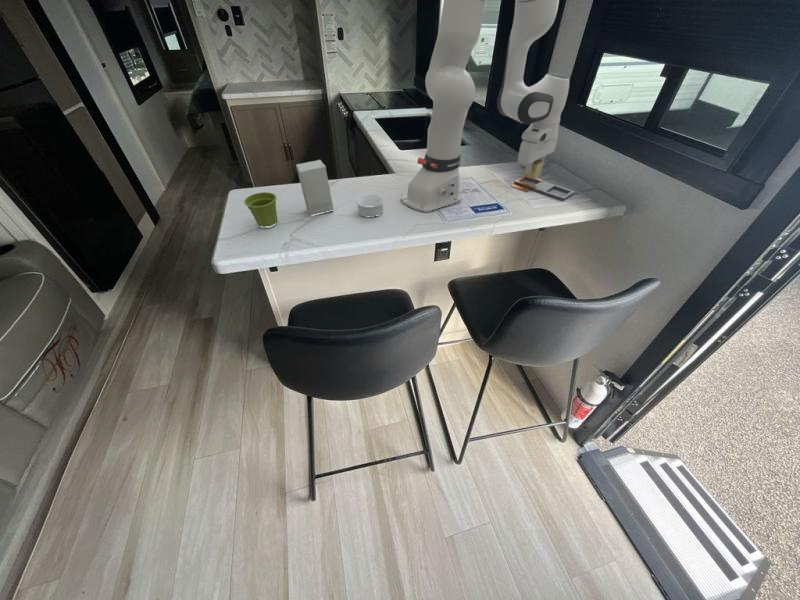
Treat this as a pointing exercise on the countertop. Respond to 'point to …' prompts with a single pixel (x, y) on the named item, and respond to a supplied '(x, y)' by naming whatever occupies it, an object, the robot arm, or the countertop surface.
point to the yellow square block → (534, 169)
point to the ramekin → (368, 201)
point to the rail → (541, 188)
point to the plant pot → (263, 208)
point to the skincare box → (315, 186)
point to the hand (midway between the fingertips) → (532, 170)
